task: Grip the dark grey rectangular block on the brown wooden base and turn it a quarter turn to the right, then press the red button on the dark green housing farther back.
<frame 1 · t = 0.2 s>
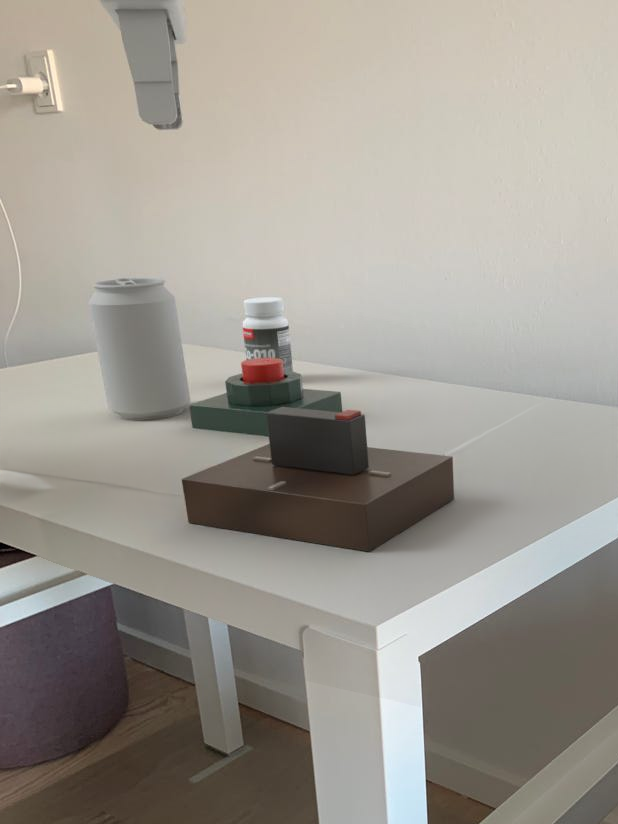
hand: (164, 127, 54), 23 cm above the table, tool pointing down, fingers open, 8 cm apart
pill bottle: (272, 383, 107), on the table
button: (262, 371, 88), point 5 cm above the table, slide at 0.2 cm
can: (151, 415, 95), on the table
dark grey rectangular block: (317, 438, 65), point 5 cm above the table, hinge at 0.0°
button box: (269, 422, 90), on the table
brown wooden base: (324, 510, 67), on the table
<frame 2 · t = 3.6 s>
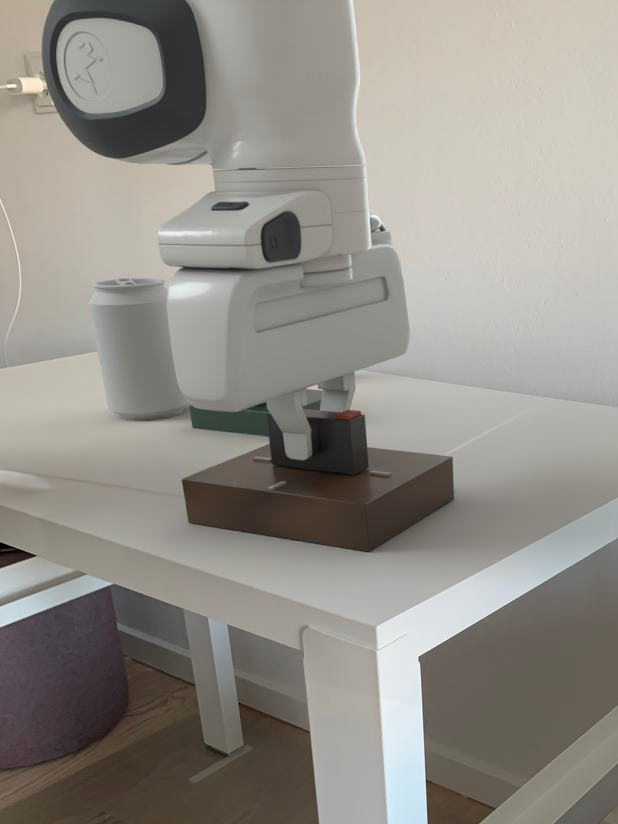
hand: (317, 450, 65), 4 cm above the table, tool pointing down, fingers closed on dark grey rectangular block, 2 cm apart
dark grey rectangular block: (317, 438, 65), point 5 cm above the table, hinge at -0.1°, touching gripper
everything else where it was.
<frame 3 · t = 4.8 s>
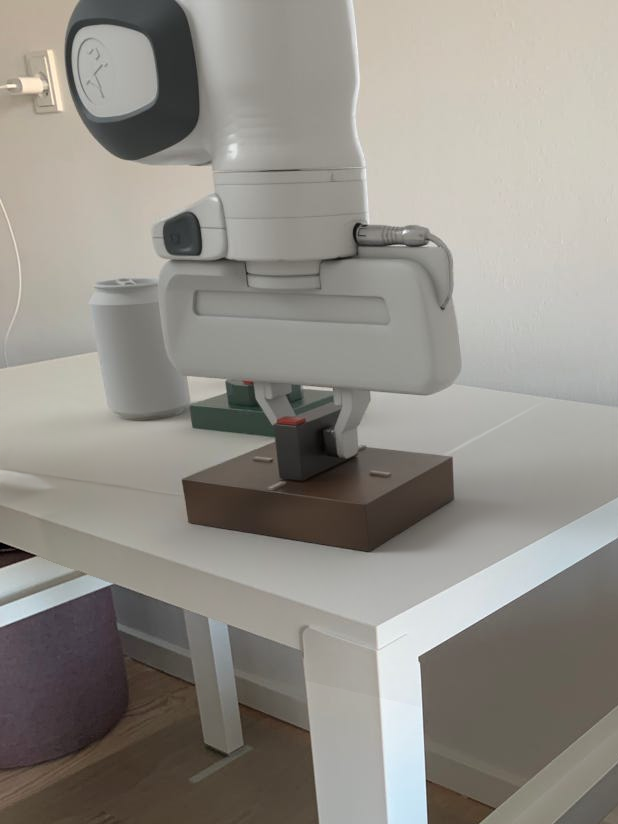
hand: (317, 452, 65), 4 cm above the table, tool pointing down, fingers closed
dark grey rectangular block: (317, 438, 65), point 5 cm above the table, hinge at -89.7°
everything else where it was.
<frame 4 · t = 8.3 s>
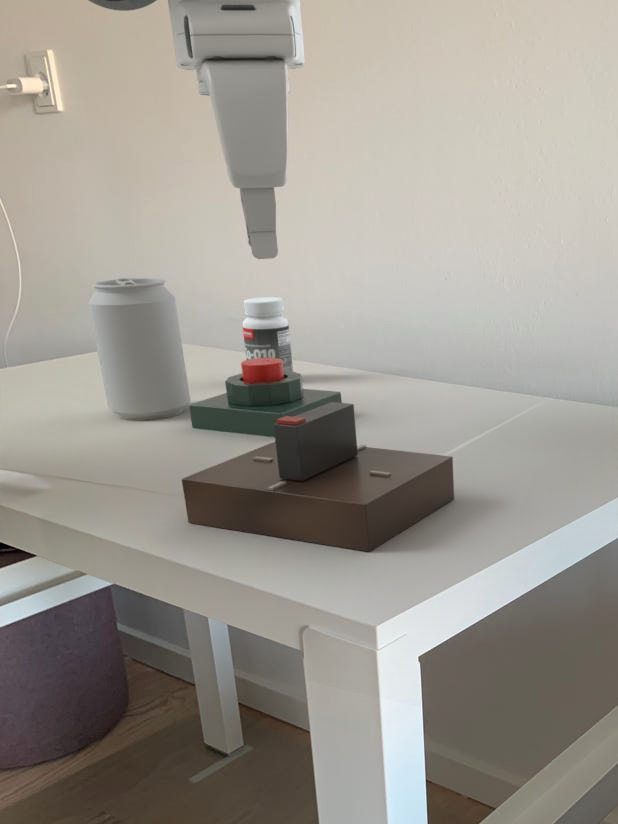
hand: (262, 252, 75), 15 cm above the table, tool pointing down, fingers open, 8 cm apart
nothing on the table moved.
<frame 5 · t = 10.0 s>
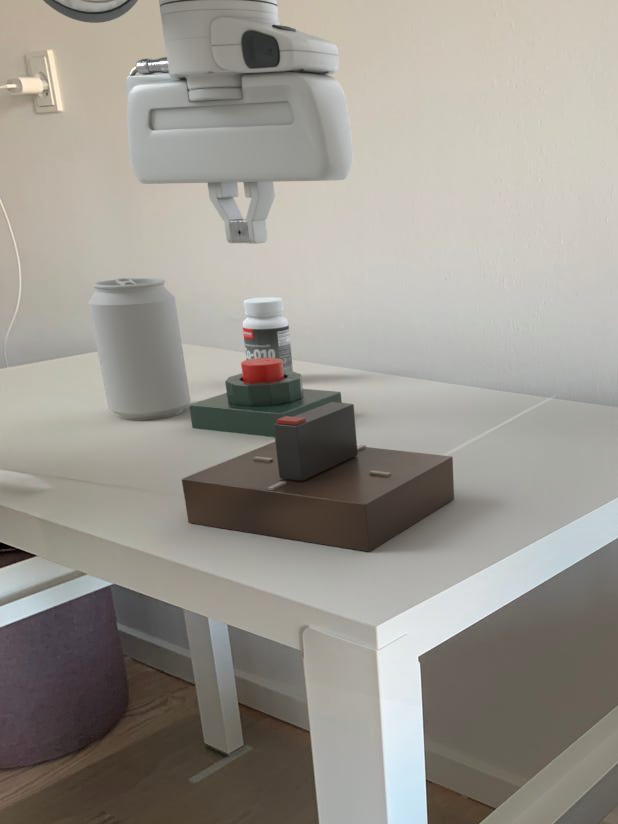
hand: (247, 243, 84), 15 cm above the table, tool pointing down, fingers closed
nothing on the table moved.
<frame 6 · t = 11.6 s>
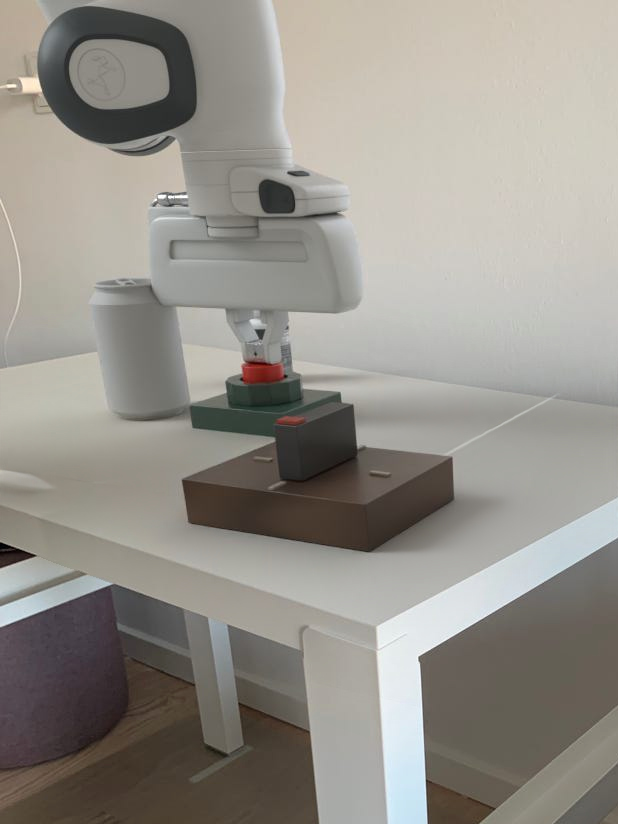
hand: (262, 362, 88), 5 cm above the table, tool pointing down, fingers closed, pressing on button
button: (263, 373, 88), point 4 cm above the table, slide at 0.0 cm, touching gripper
everything else where it was.
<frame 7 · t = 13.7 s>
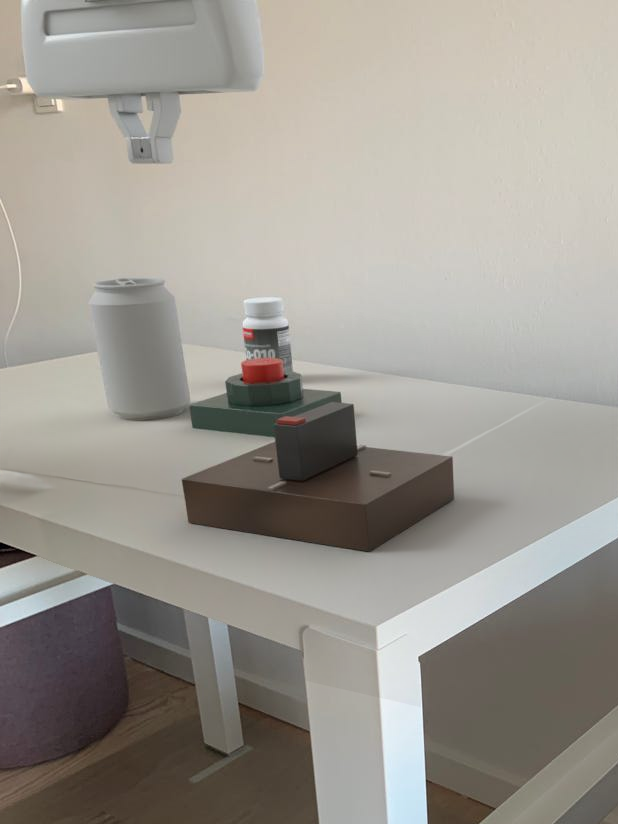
hand: (151, 163, 77), 21 cm above the table, tool pointing down, fingers closed
button: (262, 371, 88), point 5 cm above the table, slide at 0.1 cm
everything else where it was.
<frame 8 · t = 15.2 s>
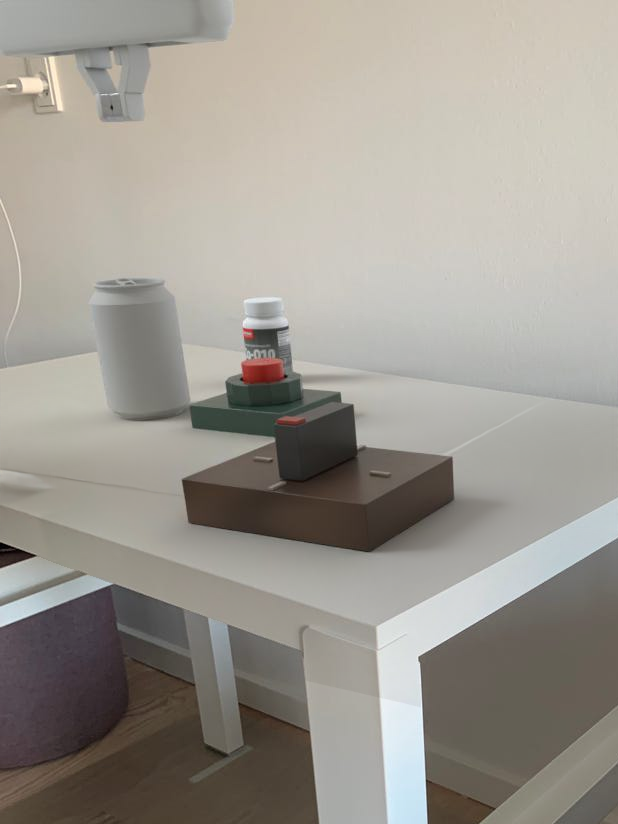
hand: (122, 121, 74), 24 cm above the table, tool pointing down, fingers closed
nothing on the table moved.
at the end: dark grey rectangular block at -90° (first picture: +0°); button pushed in 1.0 cm at the most during the clip, back to where it started at the end; button slide at 0.1 cm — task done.
